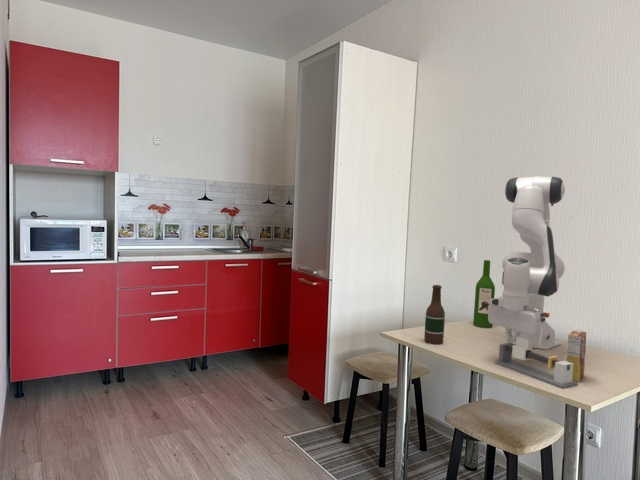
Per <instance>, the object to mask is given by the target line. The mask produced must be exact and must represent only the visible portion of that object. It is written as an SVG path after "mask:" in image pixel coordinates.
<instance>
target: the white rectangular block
mask: <svg viewBox="0 0 640 480" xmlns="http://www.w3.org/2000/svg"><path fill="white" fill-rule="evenodd" d="M526 351H531V352H533V348H531V347H530V340H529V339H525V338H522V337H519V336H517V337H516V345H515V344H513V348H512V357H513V358H516V359H519V360H522V361H528V360H529V361H530V360H532V359H531V358H528V357H526Z"/></svg>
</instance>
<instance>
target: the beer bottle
mask: <svg viewBox="0 0 640 480" xmlns="http://www.w3.org/2000/svg"><path fill="white" fill-rule="evenodd" d="M431 289H432V294H431V301H430V304H429V306H428V307H427V308H426V311H425V319H424V321H425V322H424V323H425V324H424V334H423V335H424V338H423V339H424V342H425V341H426V343H427V344H430V343H431V345H441V344H443V343H444V337H445V336H444V335H445V323H446V322H445V320H446V317H445V316H446V314H445V313H446V312H445V309H444V307H443V306H442V298H441V297H442V285H440V284H433V285H432V288H431Z"/></svg>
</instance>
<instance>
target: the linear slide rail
mask: <svg viewBox="0 0 640 480" xmlns="http://www.w3.org/2000/svg"><path fill="white" fill-rule="evenodd" d="M513 345H514V344H513V343H511V342H506V343H499V350H498V360H495V362H494V364H496V365H499V366H501V367H503V368H507V369H509V370H512V371H514V372H517V373H519V374H522V375H524V376H528V377H530V378H533V379H535V380H538V381H541V382H544V383H546V384H549V385H552V386H555V387H556V388H560V389H562V390H563V389H566V388H567V389H568V388H571V387H576V386H578V383H579V382H576V381H572V377H573V364H574V363H570V362H567V360H558V358H559V357H558V356H557V355H553V356H546V355H543V354H539V353H536V352H533V351H532V352H531V351H526V357H528V358H531V359H530V360H535V361H537V362H540V363H543V364H546V365H547V369H550V370H551V369H554V373H551V372H549V371H546V370H542V369H540V368H537V367H535V366H531V365H528V364H525V363H524V362H521V361H518V360H514V359H512V357H513V356H512V348H513Z"/></svg>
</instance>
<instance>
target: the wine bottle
mask: <svg viewBox="0 0 640 480" xmlns="http://www.w3.org/2000/svg"><path fill="white" fill-rule="evenodd" d="M482 270H483V271H482V276H481V277H480V278H479V280H478V281H477V282H476V285H475V294H474V295H475V296H474V307H473V309H474V310H473V322H472V323H473V326H474V327H476V328H482V329H491V328H492V327H493V324H491V323H489V321H488V312H489V307H490V306H491V304H490V299H493V298H495V295H496V294H495V292H496V286H495V284H494V282H493V280H492V278H491V275H490V274H491V260H488V259H483V269H482Z"/></svg>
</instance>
